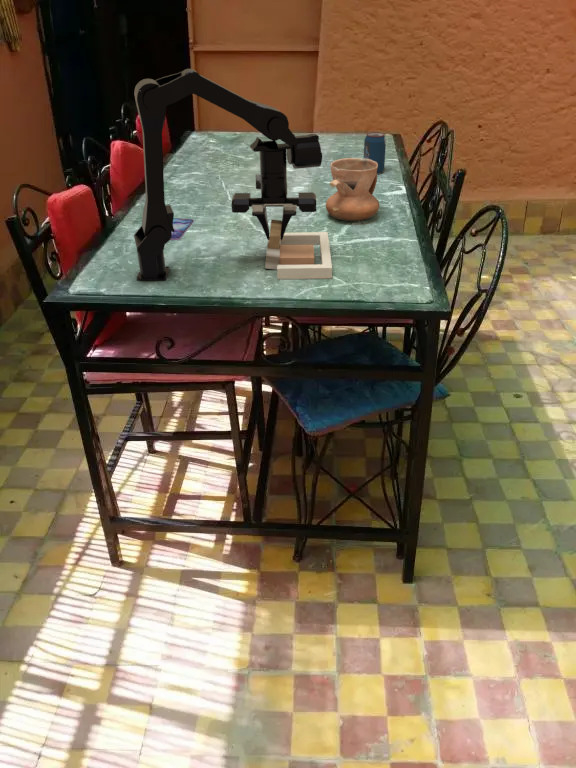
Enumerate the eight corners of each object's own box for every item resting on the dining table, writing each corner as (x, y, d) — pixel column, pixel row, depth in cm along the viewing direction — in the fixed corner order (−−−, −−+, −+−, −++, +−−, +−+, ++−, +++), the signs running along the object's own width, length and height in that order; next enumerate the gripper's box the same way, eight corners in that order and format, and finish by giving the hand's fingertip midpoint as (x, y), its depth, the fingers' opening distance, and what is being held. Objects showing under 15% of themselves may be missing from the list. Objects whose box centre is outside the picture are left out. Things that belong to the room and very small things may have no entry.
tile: (314, 267, 146) (314, 257, 145) (279, 268, 146) (279, 258, 145) (313, 254, 153) (313, 244, 151) (280, 254, 153) (280, 244, 152)
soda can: (386, 170, 211) (389, 132, 204) (380, 175, 206) (382, 137, 199) (366, 168, 213) (368, 130, 207) (360, 173, 208) (361, 135, 202)
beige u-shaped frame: (327, 241, 158) (327, 232, 157) (331, 278, 140) (332, 267, 139) (279, 242, 158) (279, 232, 157) (277, 279, 140) (277, 268, 139)
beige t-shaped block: (278, 269, 144) (282, 231, 139) (264, 268, 144) (268, 230, 139) (279, 249, 154) (283, 213, 149) (267, 248, 154) (270, 212, 149)
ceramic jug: (350, 230, 165) (353, 175, 157) (311, 217, 173) (311, 164, 166) (394, 214, 175) (399, 161, 167) (355, 202, 184) (357, 152, 176)
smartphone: (194, 219, 173) (178, 239, 160) (195, 222, 173) (179, 242, 161) (168, 217, 174) (150, 237, 161) (168, 220, 174) (151, 240, 162)
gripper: (315, 160, 145) (314, 226, 153) (233, 161, 145) (237, 227, 153) (316, 174, 135) (315, 243, 144) (229, 174, 135) (233, 244, 144)
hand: (275, 239), depth 147 cm, fingers closed on beige t-shaped block, 3 cm apart
